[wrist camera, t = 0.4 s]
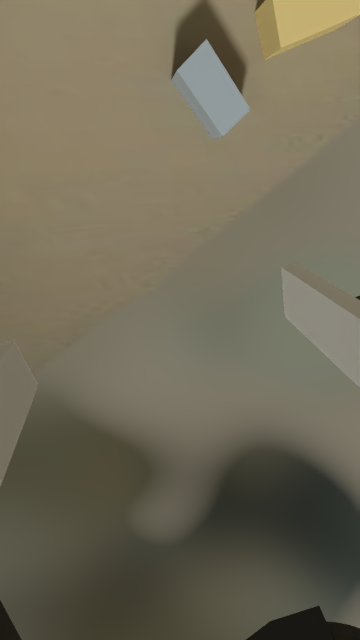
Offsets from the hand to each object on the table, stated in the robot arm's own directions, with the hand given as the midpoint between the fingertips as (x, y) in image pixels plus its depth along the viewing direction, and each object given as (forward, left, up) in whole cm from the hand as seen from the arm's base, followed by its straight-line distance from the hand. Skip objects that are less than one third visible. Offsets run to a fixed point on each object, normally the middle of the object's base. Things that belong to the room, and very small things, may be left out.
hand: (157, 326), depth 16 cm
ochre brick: (-13, +23, -27) cm, 37 cm away
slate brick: (-10, +12, -27) cm, 31 cm away
